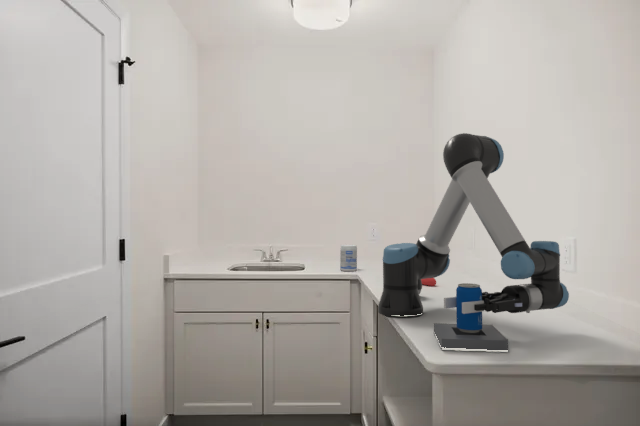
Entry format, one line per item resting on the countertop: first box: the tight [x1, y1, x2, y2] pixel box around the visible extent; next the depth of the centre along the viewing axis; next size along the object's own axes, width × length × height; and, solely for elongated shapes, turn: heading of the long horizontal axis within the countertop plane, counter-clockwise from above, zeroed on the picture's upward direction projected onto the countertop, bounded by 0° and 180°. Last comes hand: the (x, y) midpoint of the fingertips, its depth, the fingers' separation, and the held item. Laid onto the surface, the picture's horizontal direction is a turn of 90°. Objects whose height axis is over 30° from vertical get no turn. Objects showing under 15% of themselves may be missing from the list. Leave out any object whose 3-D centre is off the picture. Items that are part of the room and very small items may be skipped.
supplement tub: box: [339, 244, 358, 272], centre depth 269 cm, size 10×10×15 cm
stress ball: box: [421, 278, 437, 287], centre depth 217 cm, size 5×9×6 cm, turn 17°
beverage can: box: [455, 282, 483, 333], centre depth 123 cm, size 6×6×12 cm
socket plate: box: [433, 322, 509, 351], centre depth 123 cm, size 16×16×3 cm
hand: (453, 305), depth 121 cm, fingers closed on beverage can, 6 cm apart
